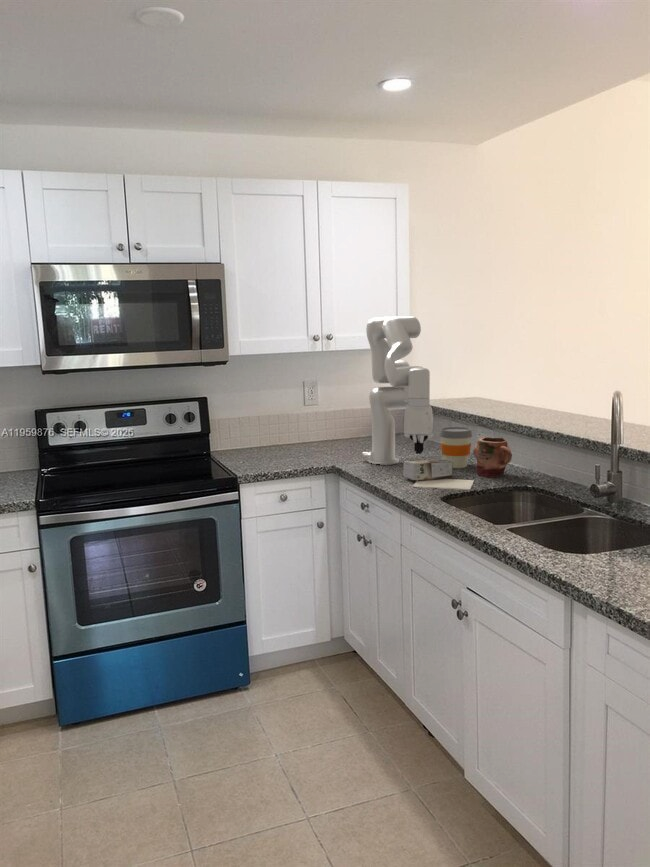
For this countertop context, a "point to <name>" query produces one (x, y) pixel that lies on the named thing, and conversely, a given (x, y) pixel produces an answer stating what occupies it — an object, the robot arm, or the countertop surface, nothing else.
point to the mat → (445, 484)
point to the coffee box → (428, 469)
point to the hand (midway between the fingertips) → (418, 453)
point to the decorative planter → (491, 456)
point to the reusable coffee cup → (456, 445)
